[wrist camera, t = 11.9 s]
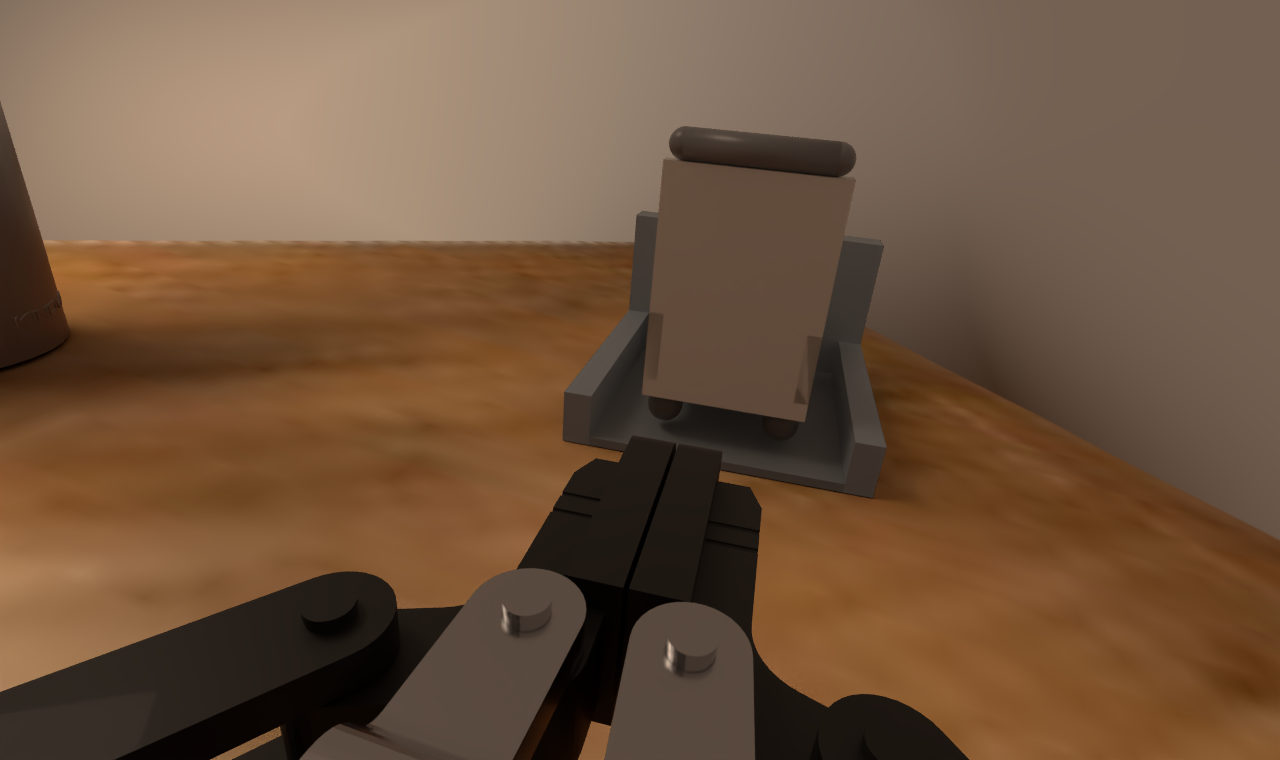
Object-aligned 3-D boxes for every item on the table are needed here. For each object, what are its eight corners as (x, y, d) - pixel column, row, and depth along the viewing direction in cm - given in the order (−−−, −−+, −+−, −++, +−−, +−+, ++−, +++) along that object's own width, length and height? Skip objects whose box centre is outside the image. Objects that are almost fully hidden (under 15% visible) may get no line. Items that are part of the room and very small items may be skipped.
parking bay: (562, 440, 29) (569, 264, 26) (632, 339, 41) (642, 210, 38) (872, 498, 27) (923, 313, 23) (849, 373, 39) (880, 240, 35)
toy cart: (637, 428, 29) (665, 125, 24) (676, 348, 38) (702, 117, 33) (797, 457, 28) (864, 144, 22) (797, 368, 37) (844, 131, 32)
